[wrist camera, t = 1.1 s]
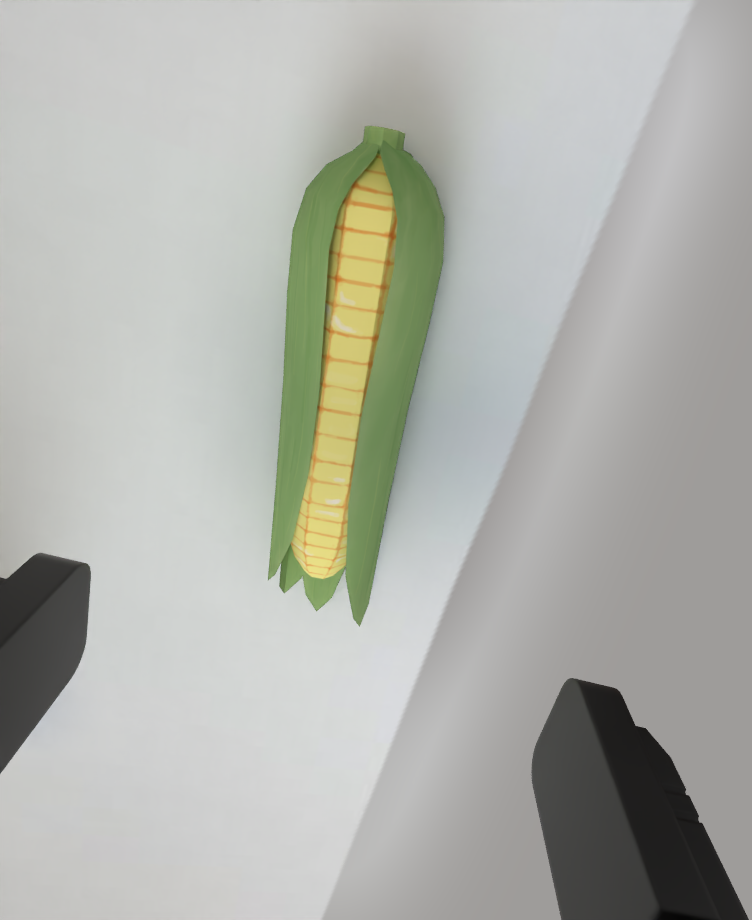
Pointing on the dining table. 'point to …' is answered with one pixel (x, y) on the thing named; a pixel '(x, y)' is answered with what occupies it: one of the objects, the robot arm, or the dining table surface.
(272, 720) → the dining table surface
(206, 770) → the dining table surface
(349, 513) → the edible corn
